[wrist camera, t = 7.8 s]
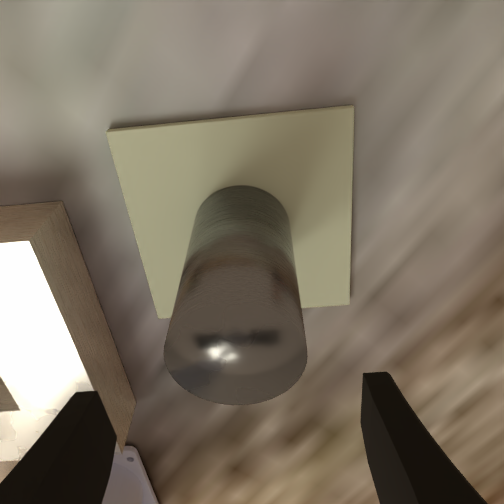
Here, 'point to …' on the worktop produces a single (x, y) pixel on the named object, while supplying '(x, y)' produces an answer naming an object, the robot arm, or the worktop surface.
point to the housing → (51, 330)
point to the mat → (242, 173)
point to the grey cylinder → (238, 302)
